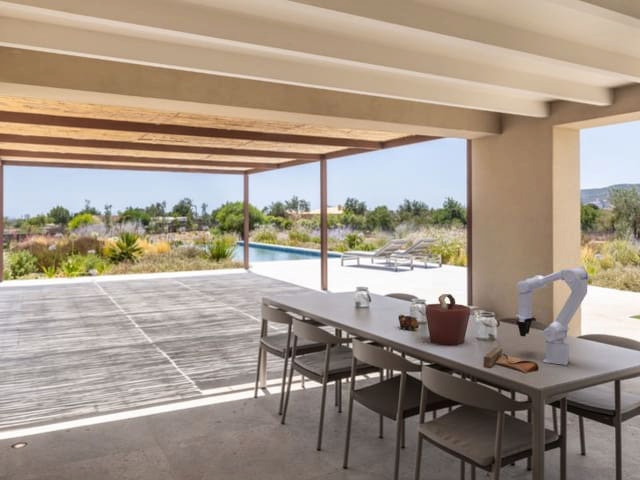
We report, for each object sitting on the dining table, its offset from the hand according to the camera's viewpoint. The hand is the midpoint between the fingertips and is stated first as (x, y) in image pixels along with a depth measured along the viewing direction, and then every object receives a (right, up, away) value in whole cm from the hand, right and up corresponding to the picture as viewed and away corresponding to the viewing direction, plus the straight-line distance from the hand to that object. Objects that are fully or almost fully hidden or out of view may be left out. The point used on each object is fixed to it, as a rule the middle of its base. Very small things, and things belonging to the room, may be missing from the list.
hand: (524, 334), depth 244 cm
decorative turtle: (-45, -8, +58) cm, 74 cm away
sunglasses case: (-13, -11, -21) cm, 27 cm away
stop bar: (-19, -10, -13) cm, 26 cm away
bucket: (-31, -9, +26) cm, 41 cm away
